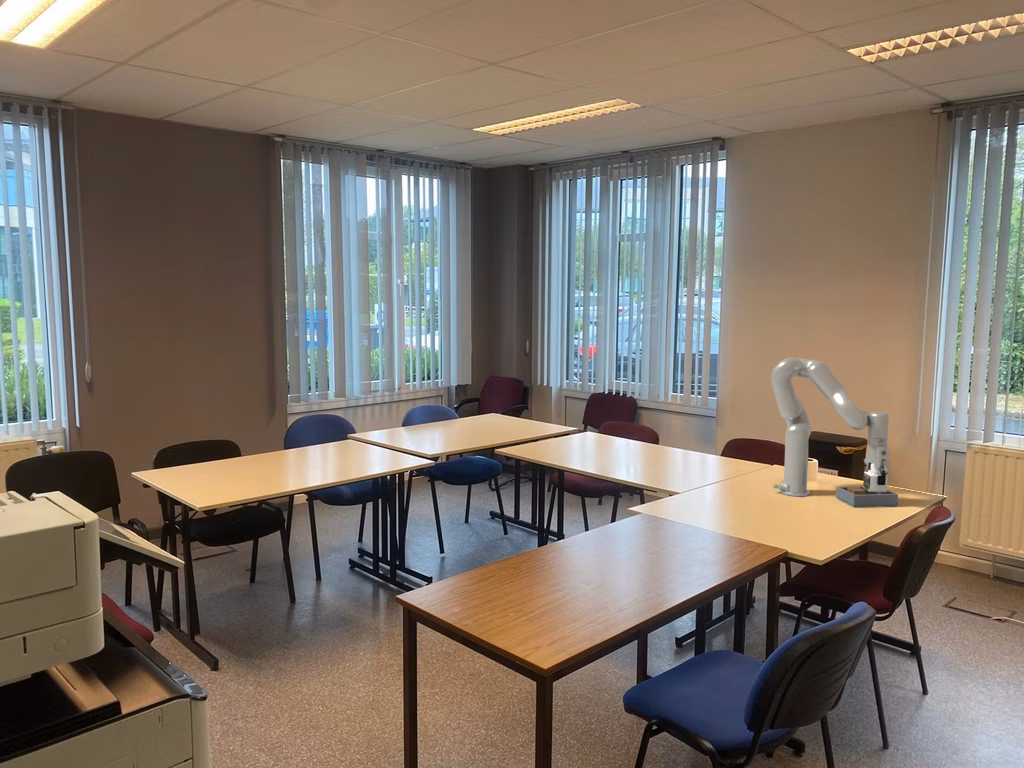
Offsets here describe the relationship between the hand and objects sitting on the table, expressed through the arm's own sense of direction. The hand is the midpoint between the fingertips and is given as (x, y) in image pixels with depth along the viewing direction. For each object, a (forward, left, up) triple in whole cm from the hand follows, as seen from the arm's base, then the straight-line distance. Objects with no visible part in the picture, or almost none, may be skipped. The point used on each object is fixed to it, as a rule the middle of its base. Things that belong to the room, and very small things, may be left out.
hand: (875, 482), depth 308 cm
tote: (-4, 0, -9) cm, 9 cm away
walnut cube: (-8, 0, -8) cm, 11 cm away
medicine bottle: (0, 0, -4) cm, 4 cm away
